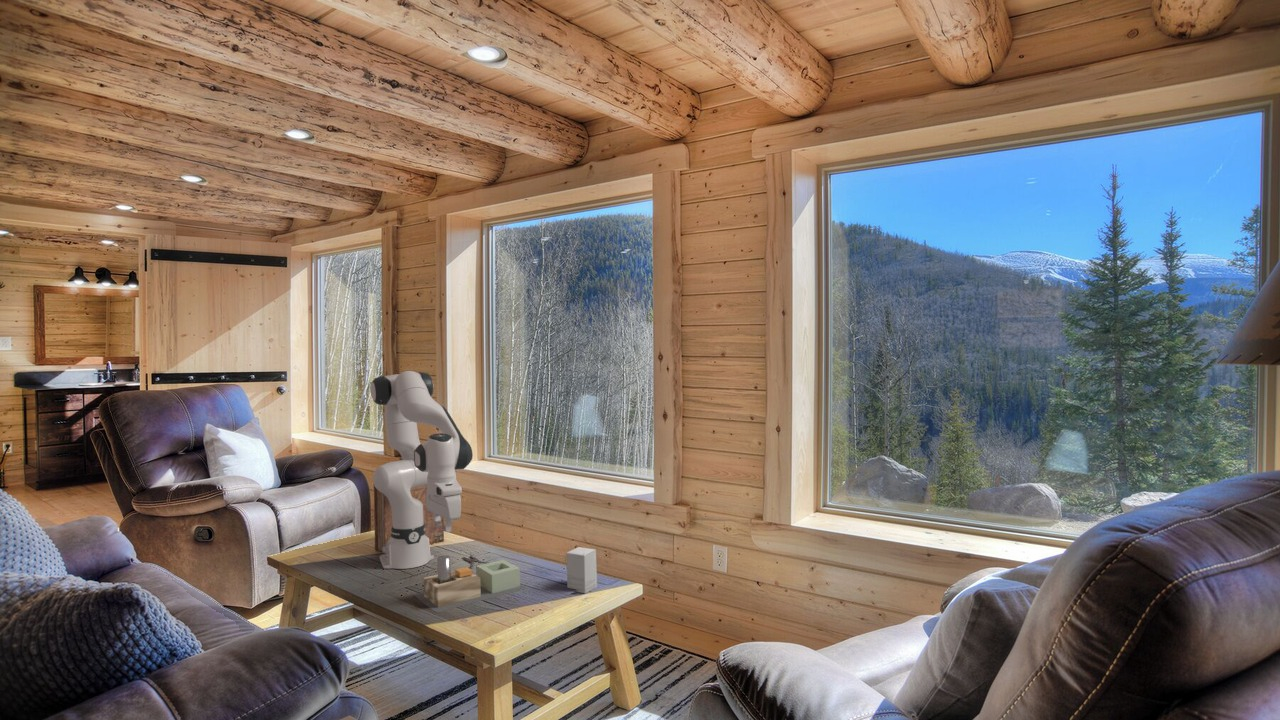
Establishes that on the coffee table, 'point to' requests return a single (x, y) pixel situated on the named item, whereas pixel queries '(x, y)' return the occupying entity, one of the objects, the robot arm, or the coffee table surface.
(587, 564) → the supplement box
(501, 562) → the frame
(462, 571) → the key
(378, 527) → the book
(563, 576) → the coffee table surface
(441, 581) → the grey cylindrical peg
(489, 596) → the mat
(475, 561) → the pliers
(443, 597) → the socket block
